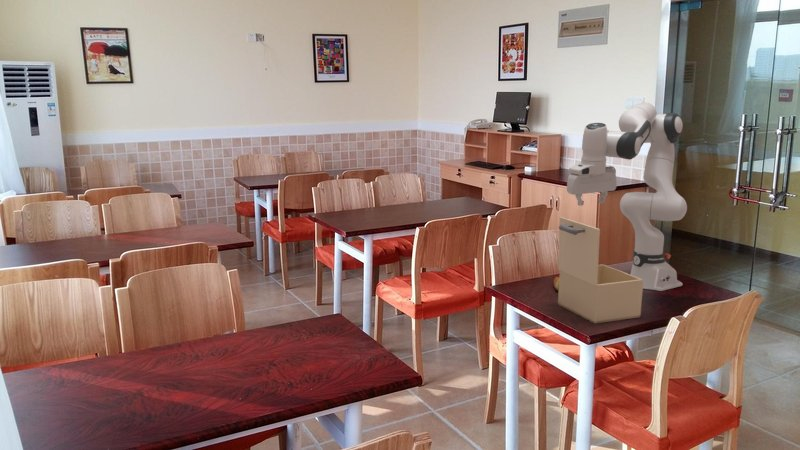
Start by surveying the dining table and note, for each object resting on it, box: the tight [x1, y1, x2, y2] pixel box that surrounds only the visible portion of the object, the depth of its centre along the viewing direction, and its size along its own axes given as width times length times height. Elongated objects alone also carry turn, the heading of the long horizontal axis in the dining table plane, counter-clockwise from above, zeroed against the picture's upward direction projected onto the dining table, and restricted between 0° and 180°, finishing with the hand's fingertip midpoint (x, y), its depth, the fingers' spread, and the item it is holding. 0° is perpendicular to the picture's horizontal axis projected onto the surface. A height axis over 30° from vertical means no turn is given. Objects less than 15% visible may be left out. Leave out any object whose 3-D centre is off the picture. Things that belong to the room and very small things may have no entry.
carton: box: [557, 264, 644, 324], centre depth 241 cm, size 20×22×14 cm
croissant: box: [553, 276, 560, 292], centre depth 265 cm, size 21×10×8 cm, turn 14°
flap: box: [557, 216, 601, 286], centre depth 233 cm, size 20×22×6 cm
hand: (590, 204), depth 246 cm, fingers open, 8 cm apart
